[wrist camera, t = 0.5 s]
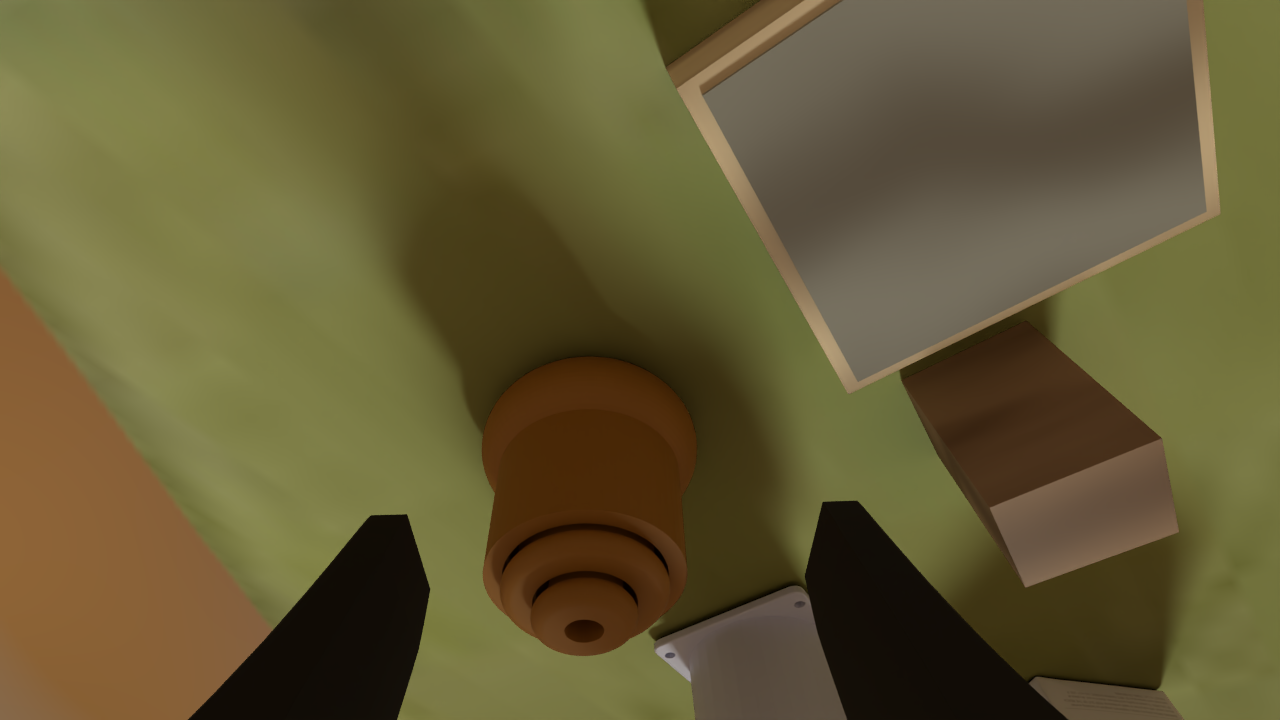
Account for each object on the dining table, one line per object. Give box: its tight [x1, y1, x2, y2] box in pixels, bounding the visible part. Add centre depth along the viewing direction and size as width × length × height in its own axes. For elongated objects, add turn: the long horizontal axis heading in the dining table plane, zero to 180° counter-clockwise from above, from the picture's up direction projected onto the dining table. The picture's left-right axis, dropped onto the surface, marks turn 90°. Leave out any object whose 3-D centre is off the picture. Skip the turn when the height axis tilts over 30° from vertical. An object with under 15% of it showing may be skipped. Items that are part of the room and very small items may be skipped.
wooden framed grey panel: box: [666, 0, 1220, 394], centre depth 15 cm, size 10×10×3 cm
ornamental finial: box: [482, 356, 697, 656], centre depth 19 cm, size 8×8×8 cm
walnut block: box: [901, 321, 1179, 587], centre depth 19 cm, size 4×4×6 cm
